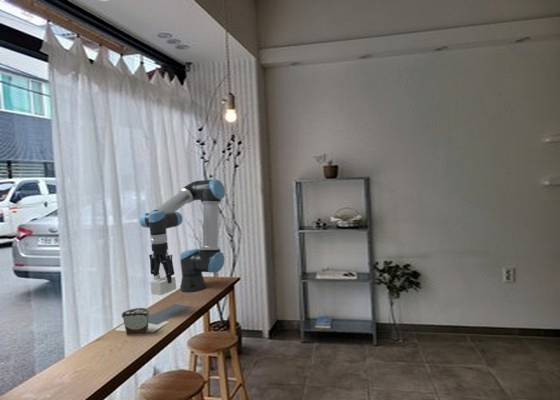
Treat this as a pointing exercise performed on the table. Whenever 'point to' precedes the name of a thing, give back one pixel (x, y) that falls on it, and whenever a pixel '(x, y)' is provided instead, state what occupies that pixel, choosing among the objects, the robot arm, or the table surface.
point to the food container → (136, 321)
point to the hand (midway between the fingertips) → (163, 288)
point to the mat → (167, 313)
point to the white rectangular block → (161, 286)
